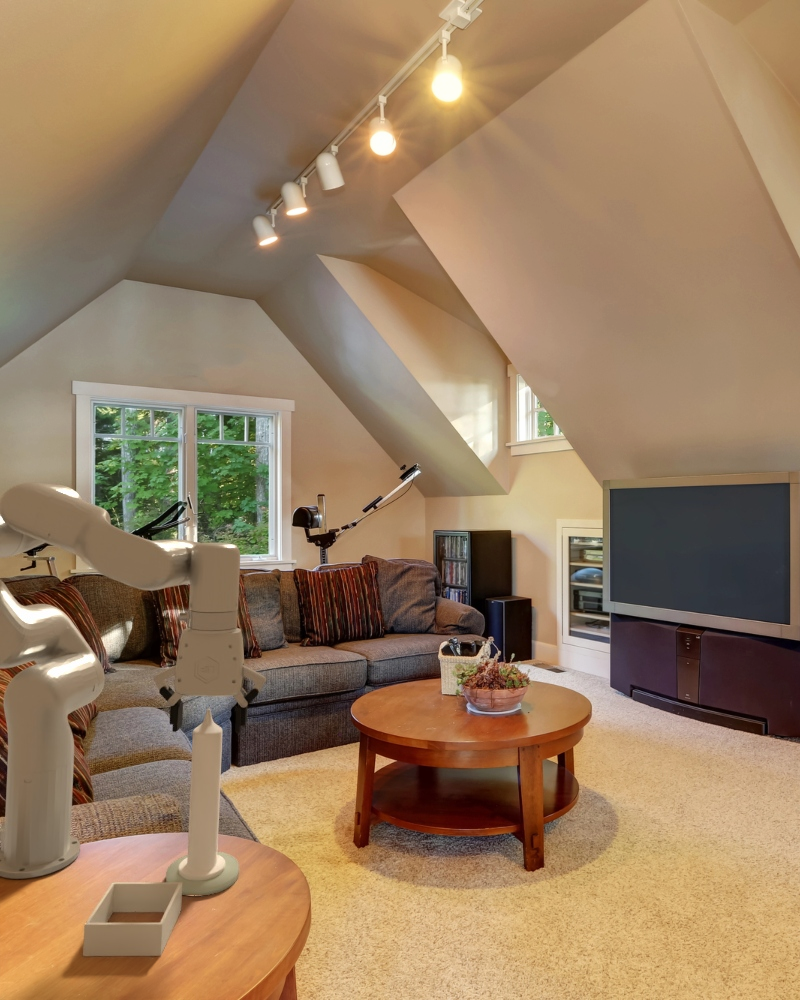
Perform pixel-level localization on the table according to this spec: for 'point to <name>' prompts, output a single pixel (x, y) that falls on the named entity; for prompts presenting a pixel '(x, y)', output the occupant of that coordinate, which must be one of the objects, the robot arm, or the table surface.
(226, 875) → the pale green dome
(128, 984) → the table surface
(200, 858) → the candle
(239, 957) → the table surface
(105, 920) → the tray
